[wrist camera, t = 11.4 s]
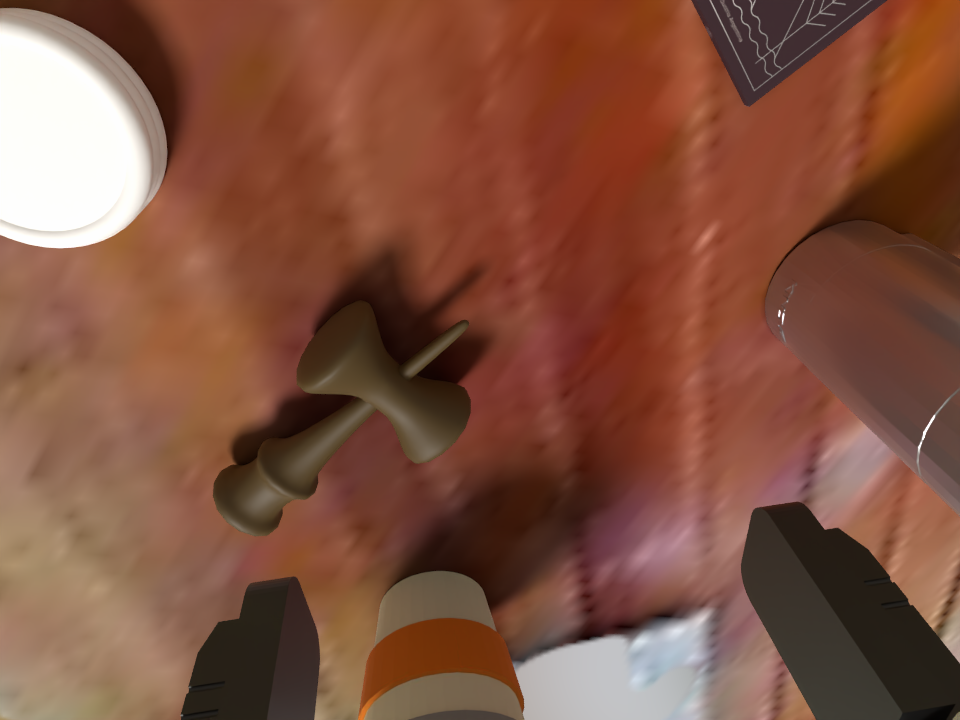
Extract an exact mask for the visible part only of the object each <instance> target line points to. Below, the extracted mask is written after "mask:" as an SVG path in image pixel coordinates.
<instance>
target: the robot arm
mask: <svg viewBox="0 0 960 720" xmlns="http://www.w3.org/2000/svg"><path fill="white" fill-rule="evenodd" d="M765 315H766V319H767V324H768V326H769V327H770V329H771V331H772V333H773V334H774V335H775V336H776V337H777V338H778V339H779V340H780V341H781V342H782V343H783V344H784V345H785V346H786V347H787V348H788V349H789V350H790V351H791V352H792V353H793V354H794V355H795V356H796V357H797V358H798V359H799V360H800V361H801V362H802V363H803V364H804V365H805V366H806V367H807V368H808V369H809V370H810V371H811V372H812V373H813V374H814V375H815V376H816V377H817V378H818V379H819V380H820V381H821V382H822V383H823V384H824V385H825V386H826V387H827V388H828V389H829V390H830V391H832V392H833V393H834V394H835V395H836V396H837V397H838V398H839V399H840V400H841V401H842V402H843V403H844V404H845V405H846V406H847V407H848V408H849V409H850V410H851V411H852V412H853V413H854V414H855V415H856V416H857V417H858V418H859V419H860V420H861V421H862V422H863V423H864V424H865V425H866V426H867V427H868V428H869V429H870V430H871V431H872V432H873V433H874V434H876V435H877V436H878V437H879V438H880V439H881V440H882V441H883V442H884V443H885V444H886V445H887V446H888V447H889V448H890V449H891V450H892V451H893V452H894V453H895V454H896V455H897V456H898V457H899V458H900V459H901V460H902V461H903V462H904V463H905V464H906V465H907V466H908V467H909V468H910V469H911V470H912V471H913V472H914V473H915V474H916V475H917V476H918V477H920V478H921V479H922V480H923V481H924V482H925V483H926V484H927V485H928V486H929V487H930V488H931V489H932V490H933V491H934V492H935V493H936V494H937V495H938V496H939V497H940V498H941V499H942V500H943V501H944V502H945V503H946V504H947V505H949V506H950V507H951V508H952V509H953V510H954V511H955V512H956V513H957V514H958V515H959V516H960V259H959V258H957V257H955V256H953V255H951V254H949V253H948V252H946V251H944V250H942V249H940V248H938V247H936V246H935V245H933V244H931V243H929V242H927V241H925V240H923V239H921V238H920V237H918V236H916V235H914V234H912V233H907V234H899V233H897V232H895V231H893V230H891V229H890V228H888V227H886V226H884V225H882V224H879V223H876V222H873V221H864V220H854V221H847V222H841V223H839V224H836V225H833V226H830V227H827V228H825V229H823V230H821V231H819V232H818V233H816V234H814V235H812V236H811V237H809V238H808V239H807V240H805V241H804V242H803V243H801V244H800V245H799V246H797V247H796V248H795V249H794V250H793V251H792V252H791V254H790V255H789V256H788V257H787V258H786V259H785V260H784V261H783V263H782V264H781V266H780V267H779V268H778V270H777V271H776V273H775V275H774V277H773V279H772V281H771V283H770V285H769V288H768V292H767V296H766V299H765ZM741 573H742V579H743V584H744V587H745V590H746V593H747V595H748V597H749V599H750V601H751V603H752V605H753V607H754V609H755V610H756V612H757V614H758V616H759V618H760V619H761V621H762V623H763V625H764V627H765V628H766V630H767V632H768V634H769V636H770V637H771V639H772V641H773V643H774V644H775V646H776V648H777V650H778V652H779V653H780V655H781V657H782V659H783V661H784V662H785V664H786V666H787V668H788V670H789V671H790V673H791V675H792V677H793V679H794V680H795V682H796V684H797V686H798V688H799V689H800V691H801V693H802V695H803V697H804V698H805V700H806V702H807V704H808V706H809V707H810V709H811V711H812V713H813V715H814V716H815V718H816V720H960V663H959V662H958V661H957V659H956V658H955V657H954V656H953V655H952V653H951V652H950V651H949V650H948V648H947V647H946V646H945V645H944V643H943V642H942V641H941V640H940V638H939V637H938V636H937V635H936V633H935V632H934V631H933V630H932V628H931V627H930V626H929V625H928V623H927V622H926V621H925V620H924V618H923V617H922V616H921V615H920V613H919V612H918V611H917V610H916V608H915V607H914V606H913V605H910V604H909V602H908V598H907V597H906V596H905V595H904V593H903V592H902V591H901V590H900V589H899V587H898V586H897V585H896V584H895V582H893V583H892V582H891V580H890V576H889V575H888V574H887V572H886V571H885V570H884V569H883V567H882V566H881V565H880V564H879V562H878V561H877V560H876V559H875V557H874V556H873V555H872V554H871V552H870V551H869V550H868V549H867V548H865V547H864V546H863V545H861V544H860V543H858V542H857V541H856V540H854V539H853V538H851V537H850V536H849V535H847V534H846V533H844V532H843V531H842V530H840V529H839V528H833V529H827V530H824V528H823V527H822V526H821V524H820V523H819V522H818V520H817V519H816V518H815V516H814V515H813V514H812V512H811V511H810V510H809V509H808V507H806V506H805V505H804V504H802V503H800V502H792V503H785V504H778V505H772V506H765V507H759V508H755V509H754V510H753V512H752V515H751V520H750V524H749V529H748V534H747V539H746V543H745V548H744V553H743V557H742V563H741ZM319 665H320V649H319V639H318V633H317V629H316V626H315V623H314V621H313V618H312V615H311V613H310V610H309V607H308V605H307V602H306V599H305V597H304V594H303V591H302V589H301V586H300V583H299V581H298V579H297V578H296V577H288V578H281V579H275V580H268V581H262V582H255V583H251V584H250V585H249V586H248V587H247V589H246V592H245V596H244V600H243V604H242V609H241V613H240V618H239V619H235V620H228V621H222V622H218V624H217V625H216V627H215V628H214V630H213V631H212V633H211V634H210V636H209V637H208V639H207V640H206V642H205V643H204V645H203V646H202V648H201V649H200V651H199V652H198V654H197V658H196V662H195V665H194V669H193V672H192V676H191V680H190V683H189V693H188V694H186V698H185V701H184V705H183V709H182V712H181V720H314V715H315V706H316V696H317V686H318V676H319Z"/></svg>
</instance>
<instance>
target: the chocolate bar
mask: <svg viewBox="0 0 960 720" xmlns="http://www.w3.org/2000/svg"><path fill="white" fill-rule="evenodd" d="M886 1H887V0H692V2H693V4H694V6H695V8H696V10H697V12H698V14H699V16H700V18H701V20H702V22H703V24H704V26H705V28H706V30H707V32H708V34H709V36H710V38H711V40H712V42H713V44H714V46H715V48H716V50H717V52H718V54H719V56H720V58H721V60H722V62H723V63H724V65H725V67H726V69H727V71H728V73H729V75H730V77H731V79H732V81H733V83H734V85H735V87H736V89H737V91H738V93H739V95H740V97H741V99H742V101H743V103H744V105H746V106H751V105H752V104H753V103H755V102H756V101H757V100H759V99H760V98H761V97H762V96H764V95H765V94H766V93H768V92H769V91H770V90H771V89H773V88H774V87H775V86H777V85H778V84H779V83H781V82H782V81H783V80H784V79H786V78H787V77H788V76H790V75H791V74H792V73H794V72H795V71H796V70H797V69H799V68H800V67H801V66H803V65H804V64H805V63H806V62H808V61H809V60H810V59H812V58H813V57H814V56H816V55H817V54H818V53H819V52H821V51H822V50H823V49H825V48H826V47H827V46H829V45H830V44H831V43H832V42H834V41H835V40H836V39H838V38H839V37H840V36H841V35H843V34H844V33H845V32H847V31H848V30H849V29H851V28H852V27H853V26H854V25H856V24H857V23H858V22H860V21H861V20H862V19H864V18H865V17H866V16H867V15H869V14H870V13H871V12H873V11H874V10H875V9H877V8H878V7H879V6H880V5H882V4H883V3H884V2H886Z"/></svg>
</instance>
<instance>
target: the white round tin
mask: <svg viewBox="0 0 960 720" xmlns="http://www.w3.org/2000/svg"><path fill="white" fill-rule="evenodd" d="M166 165H167V141H166V134H165V130H164V125H163V121H162V119H161V116H160V113H159V110H158V107H157V105H156V103H155V101H154V99H153V97H152V95H151V93H150V92H149V90H148V89H147V87H146V86H145V84H144V83H143V81H142V79H141V78H140V77H139V76H138V75H137V73H136V72H135V71H134V70H133V68H132V67H131V66H130V65H129V64H128V63H127V62H126V61H125V60H124V59H123V58H122V57H121V56H120V55H119V54H118V53H117V52H116V51H115V50H114V49H112V48H111V47H110V46H109V45H107V44H106V43H105V42H104V41H102V40H101V39H99V38H98V37H96V36H95V35H93V34H92V33H90V32H89V31H87V30H85V29H83V28H81V27H79V26H77V25H75V24H74V23H72V22H70V21H67V20H65V19H62V18H60V17H57V16H54V15H52V14H48V13H44V12H40V11H36V10H30V9H22V8H0V235H3V236H5V237H8V238H10V239H13V240H16V241H19V242H23V243H26V244H30V245H36V246H41V247H50V248H73V247H80V246H85V245H90V244H94V243H97V242H100V241H103V240H105V239H107V238H110V237H112V236H114V235H115V234H117V233H118V232H120V231H121V230H123V229H124V228H125V227H127V226H128V225H129V224H130V223H131V222H132V221H133V220H134V219H135V218H136V217H137V215H138V214H140V213H141V211H142V210H143V209H144V208H145V207H146V206H147V205H148V204H149V202H150V201H151V200H152V199H153V198H154V196H155V194H156V193H157V191H158V189H159V188H160V185H161V183H162V180H163V178H164V174H165V169H166Z"/></svg>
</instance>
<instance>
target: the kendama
mask: <svg viewBox="0 0 960 720" xmlns="http://www.w3.org/2000/svg"><path fill="white" fill-rule="evenodd" d="M468 326H469V322H468V321H467V320H462V321H460V322H458V323H457V324H455V325H453V326H452V327H451V328H449V329H448V330H446V331H445V332H444V333H442V334H441V335H440V336H438V337H437V338H436V339H434V340H433V341H432V342H430V343H429V344H428V345H426V346H425V347H424V348H423V349H421V350H420V351H419V352H417V353H416V354H415V355H413V356H412V357H411V358H410V359H408V360H407V361H406V362H404V363H403V364H402V365H400V364H399V363H397V362H396V361H395V360H394V359H393V358H392V357H391V356H390V355H389V354H388V352H387V351H386V349H385V347H384V345H383V342H382V339H381V336H380V333H379V329H378V326H377V322H376V318H375V315H374V312H373V309H372V307H371V305H370V304H369V303H367V302H365V301H362V300H358V301H356V302H354V303H351V304H349V305H347V306H345V307H343V308H342V309H341V310H339V311H338V312H337V313H335V314H334V315H333V316H332V317H331V318H330V319H329V320H328V321H327V322H326V323H325V324H324V325H323V326H322V327H321V328H320V329H319V330H318V332H317V333H316V334H315V336H314V337H313V338H312V340H311V341H310V342H309V344H308V346H307V347H306V349H305V351H304V353H303V354H302V356H301V359H300V362H299V365H298V368H297V385H298V386H299V387H300V388H301V389H302V390H304V391H305V392H307V393H313V394H344V395H352V396H356V397H357V398H355V399H354V400H352V401H351V402H349V403H348V404H346V405H345V406H343V407H342V408H340V409H339V410H337V411H336V412H334V413H333V414H331V415H329V416H328V417H326V418H325V419H323V420H321V421H320V422H318V423H316V424H315V425H313V426H311V427H309V428H308V429H306V430H304V431H302V432H300V433H298V434H296V435H294V436H292V437H289V438H284V439H283V438H277V437H271V438H269V439H267V440H265V441H263V443H262V445H261V447H260V448H259V450H258V457H257V458H256V459H255V460H253V461H252V462H250V463H248V464H246V465H230V466H229V467H227V468H225V469H223V470H222V471H221V472H220V473H219V475H218V476H217V478H216V480H215V482H214V489H213V498H214V501H215V504H216V507H217V510H218V511H219V513H220V514H221V515H222V516H223V518H224V519H225V520H226V522H227V523H229V524H230V525H232V526H233V527H234V528H236V529H237V530H238V531H241V532H244V533H247V534H250V535H253V536H267V535H269V534H270V533H271V532H272V531H274V530H275V529H276V528H277V527H278V525H279V522H280V520H281V517H282V514H283V510H282V508H283V507H284V506H285V505H286V504H287V503H289V502H290V501H292V500H295V499H301V500H305V499H308V498H309V497H310V496H311V495H313V494H314V493H315V491H316V488H317V485H318V473H319V472H320V470H321V469H322V467H323V466H324V465H325V464H326V462H327V461H328V460H329V459H330V458H331V457H332V455H333V454H334V453H335V452H336V451H337V450H338V449H339V448H340V447H341V445H342V444H343V443H344V442H345V441H346V440H347V439H348V438H349V437H350V436H351V435H352V434H353V433H354V432H355V431H356V430H357V429H358V428H359V427H360V426H361V425H362V424H363V423H364V422H365V421H366V420H367V419H368V418H369V417H370V416H371V415H372V414H373V413H374V412H375V411H376V410H377V409H378V410H379V411H380V412H382V413H383V414H384V415H385V416H386V417H387V418H388V419H389V420H390V422H391V423H392V425H393V427H394V429H395V431H396V434H397V436H398V439H399V442H400V444H401V447H402V449H403V451H404V453H405V455H406V456H407V457H408V458H409V459H410V460H411V461H413V462H414V463H417V464H418V463H425V462H429V461H431V460H433V459H435V458H436V457H438V456H440V455H442V454H443V453H444V452H445V451H446V450H447V449H448V448H449V447H450V446H452V445H453V444H454V443H455V442H456V440H457V439H458V437H459V436H460V435H461V433H462V432H463V430H464V429H465V427H466V424H467V422H468V419H469V416H470V411H471V400H470V397H469V395H468V393H467V391H466V390H465V388H464V387H461V386H459V385H457V384H455V383H452V382H448V381H440V380H433V379H427V378H422V377H419V376H417V375H416V374H417V373H418V372H420V371H421V370H422V369H423V368H424V367H425V366H427V365H428V364H429V363H430V362H431V361H432V360H433V359H435V358H436V357H437V356H438V355H439V354H440V353H441V352H443V351H444V350H445V349H446V348H447V347H448V346H449V345H451V344H452V343H453V342H454V341H455V340H456V339H457V338H458V337H459V336H460V335H461V334H462V333H463V332H464V331H465V330H466V329H467V328H468Z"/></svg>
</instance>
